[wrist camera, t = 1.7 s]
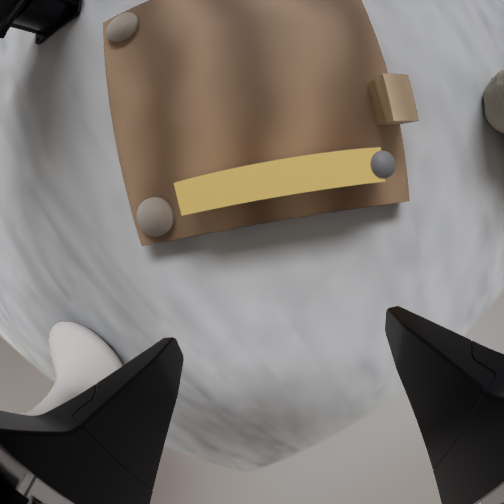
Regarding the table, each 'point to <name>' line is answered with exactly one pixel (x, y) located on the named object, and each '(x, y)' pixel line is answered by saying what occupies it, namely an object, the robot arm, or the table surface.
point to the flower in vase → (75, 363)
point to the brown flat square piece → (248, 103)
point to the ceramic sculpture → (495, 101)
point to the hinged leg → (284, 178)
